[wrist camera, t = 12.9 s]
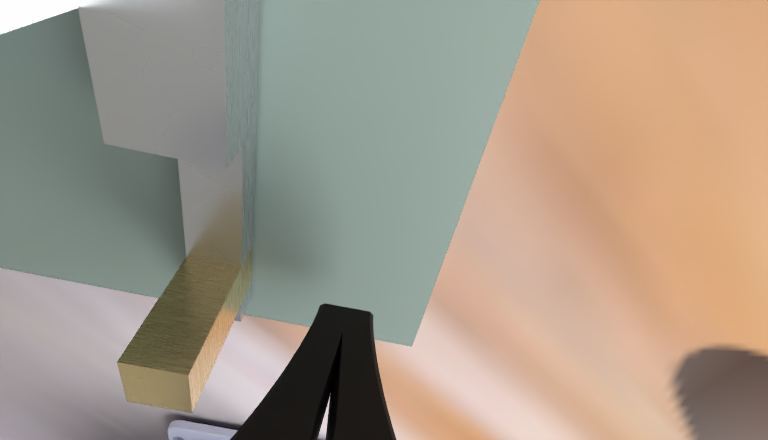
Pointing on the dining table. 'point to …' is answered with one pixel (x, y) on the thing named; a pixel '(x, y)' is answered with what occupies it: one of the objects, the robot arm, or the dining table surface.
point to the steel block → (30, 12)
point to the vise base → (273, 156)
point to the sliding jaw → (184, 168)
